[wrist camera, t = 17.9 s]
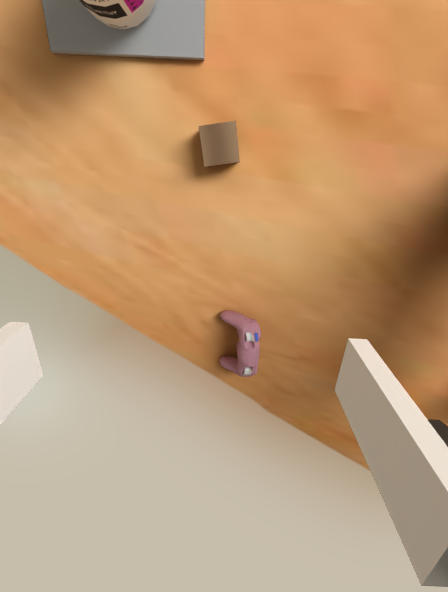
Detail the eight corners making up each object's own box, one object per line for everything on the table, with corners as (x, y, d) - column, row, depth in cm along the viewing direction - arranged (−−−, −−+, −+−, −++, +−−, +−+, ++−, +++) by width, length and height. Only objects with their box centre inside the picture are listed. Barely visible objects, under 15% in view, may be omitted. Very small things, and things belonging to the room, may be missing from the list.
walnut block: (235, 123, 34) (235, 120, 31) (238, 161, 35) (239, 161, 33) (201, 128, 34) (198, 126, 31) (206, 166, 36) (204, 166, 33)
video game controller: (241, 355, 49) (264, 382, 44) (216, 362, 47) (236, 391, 42) (244, 303, 45) (269, 324, 39) (217, 308, 43) (239, 332, 38)
